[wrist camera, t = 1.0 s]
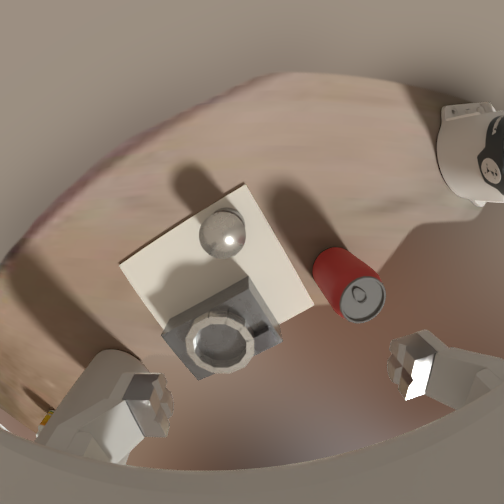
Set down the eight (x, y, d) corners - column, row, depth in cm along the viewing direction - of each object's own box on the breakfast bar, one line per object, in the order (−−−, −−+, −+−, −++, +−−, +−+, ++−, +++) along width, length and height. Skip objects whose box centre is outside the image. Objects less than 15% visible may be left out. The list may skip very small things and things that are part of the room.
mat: (245, 184, 37) (245, 184, 37) (313, 303, 41) (314, 304, 41) (119, 264, 39) (118, 265, 39) (193, 364, 44) (192, 365, 43)
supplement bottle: (69, 424, 49) (55, 449, 40) (56, 422, 49) (42, 445, 40) (58, 409, 48) (42, 434, 39) (46, 408, 48) (29, 431, 39)
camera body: (248, 275, 40) (249, 294, 33) (279, 324, 42) (284, 348, 35) (169, 319, 41) (157, 342, 35) (202, 361, 43) (196, 388, 37)
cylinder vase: (156, 359, 43) (105, 478, 19) (153, 406, 46) (118, 510, 22) (92, 338, 43) (17, 432, 18) (96, 387, 45) (43, 476, 21)
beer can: (336, 236, 39) (371, 259, 27) (361, 269, 40) (399, 300, 29) (302, 267, 40) (323, 301, 28) (329, 297, 41) (355, 338, 30)
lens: (233, 199, 37) (230, 203, 30) (253, 232, 38) (254, 244, 31) (200, 219, 38) (190, 227, 31) (220, 251, 39) (214, 266, 32)
